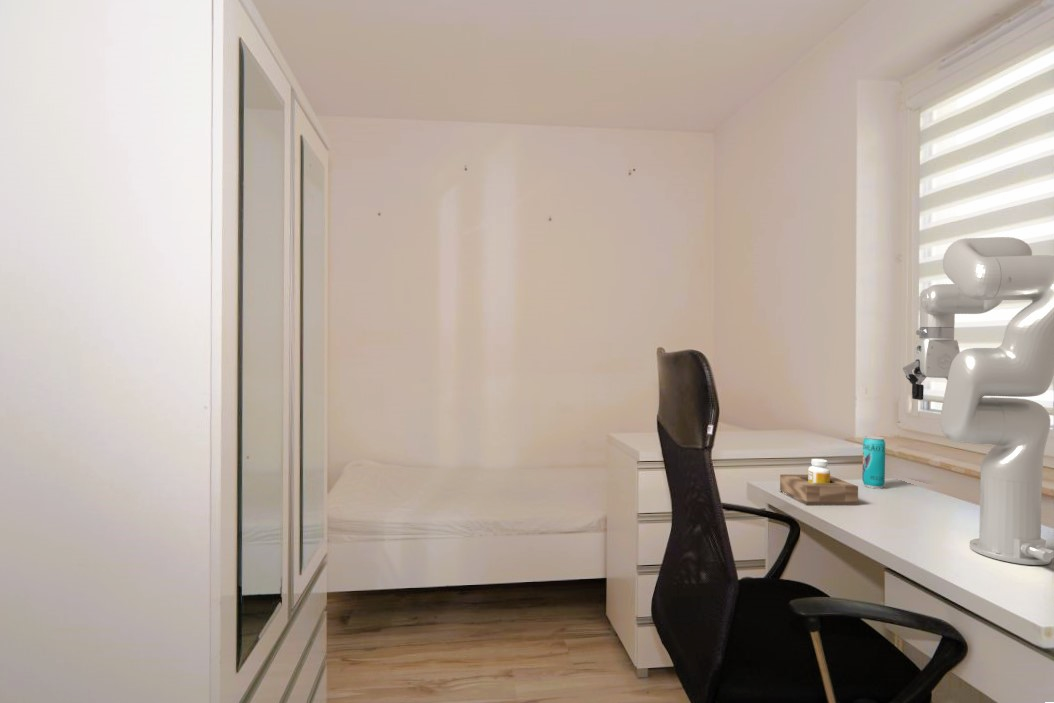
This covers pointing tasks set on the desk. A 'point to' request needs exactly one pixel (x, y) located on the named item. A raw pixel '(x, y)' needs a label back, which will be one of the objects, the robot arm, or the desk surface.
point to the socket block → (819, 491)
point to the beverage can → (873, 461)
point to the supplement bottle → (819, 471)
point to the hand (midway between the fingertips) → (935, 399)
